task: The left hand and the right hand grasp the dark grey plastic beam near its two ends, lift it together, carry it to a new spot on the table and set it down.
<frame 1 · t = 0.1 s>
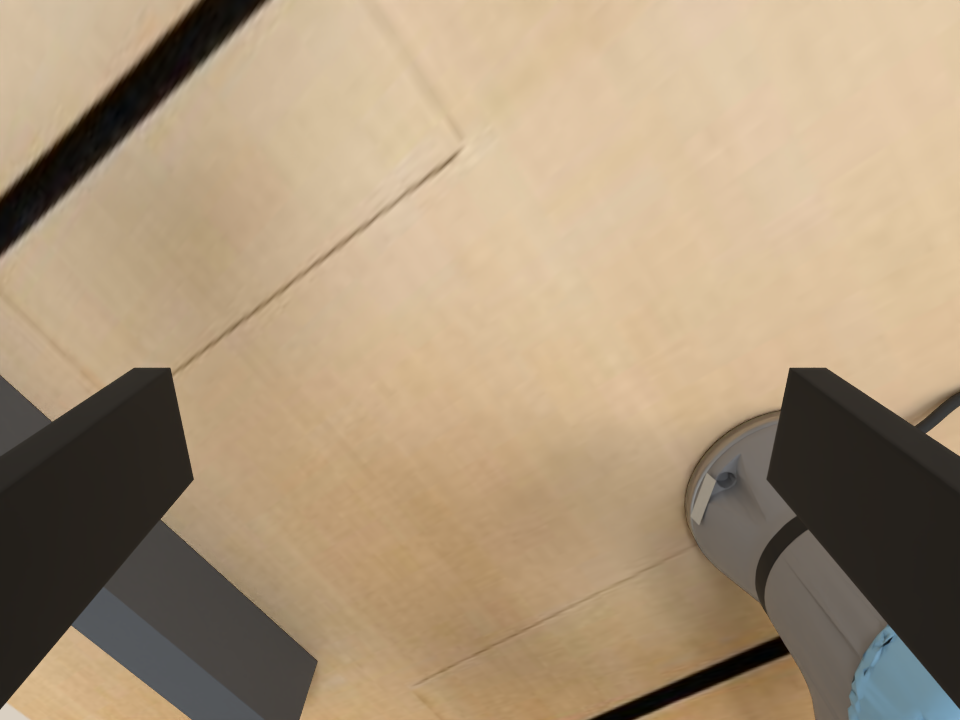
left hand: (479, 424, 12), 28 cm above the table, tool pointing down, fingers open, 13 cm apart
beam: (77, 476, 45), on the table
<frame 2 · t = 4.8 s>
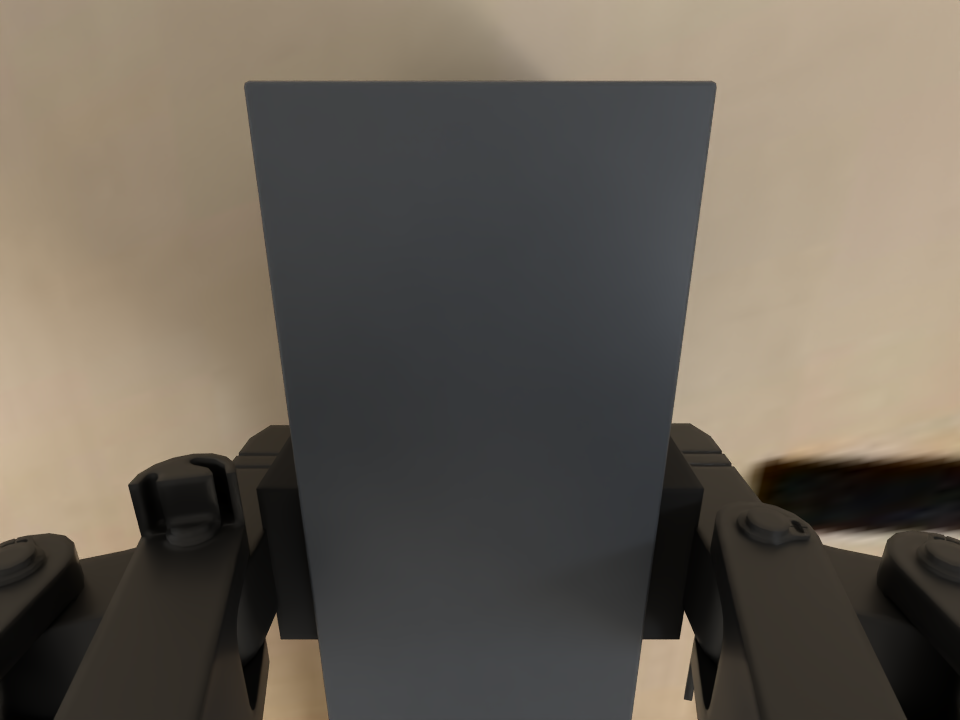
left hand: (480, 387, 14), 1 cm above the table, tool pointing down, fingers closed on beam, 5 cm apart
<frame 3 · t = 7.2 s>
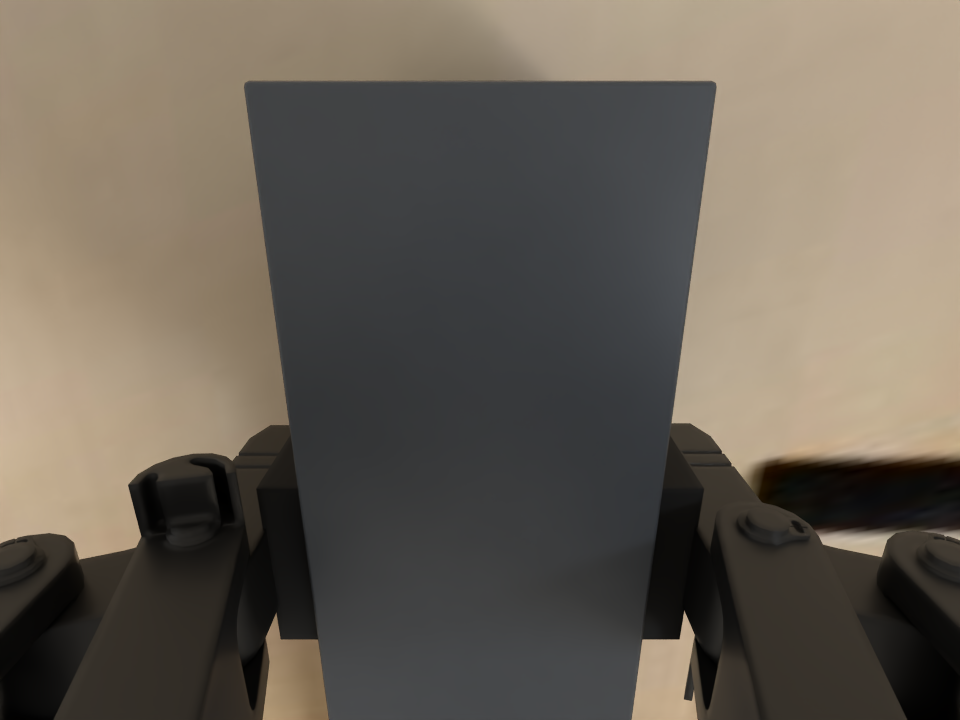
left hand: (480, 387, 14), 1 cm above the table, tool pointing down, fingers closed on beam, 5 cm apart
when the left hand's fingers open (2 cm above the table, at t = 12.9 s): beam drops 2 cm, on the table.
when the right hand's fingers open (2 cm above the table, at t = 12.9 s): beam drops 2 cm, on the table.
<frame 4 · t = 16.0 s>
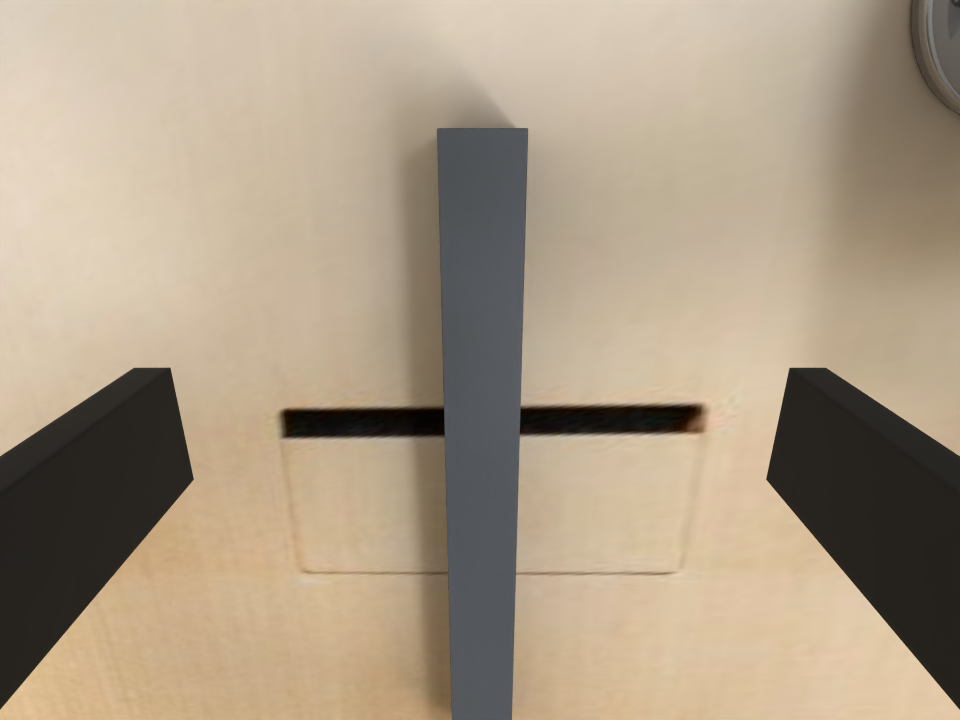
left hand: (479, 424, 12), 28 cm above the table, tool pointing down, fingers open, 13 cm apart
beam: (481, 483, 45), on the table
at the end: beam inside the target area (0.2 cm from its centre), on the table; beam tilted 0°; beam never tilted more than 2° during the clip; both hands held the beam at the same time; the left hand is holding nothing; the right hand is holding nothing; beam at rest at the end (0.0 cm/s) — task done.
